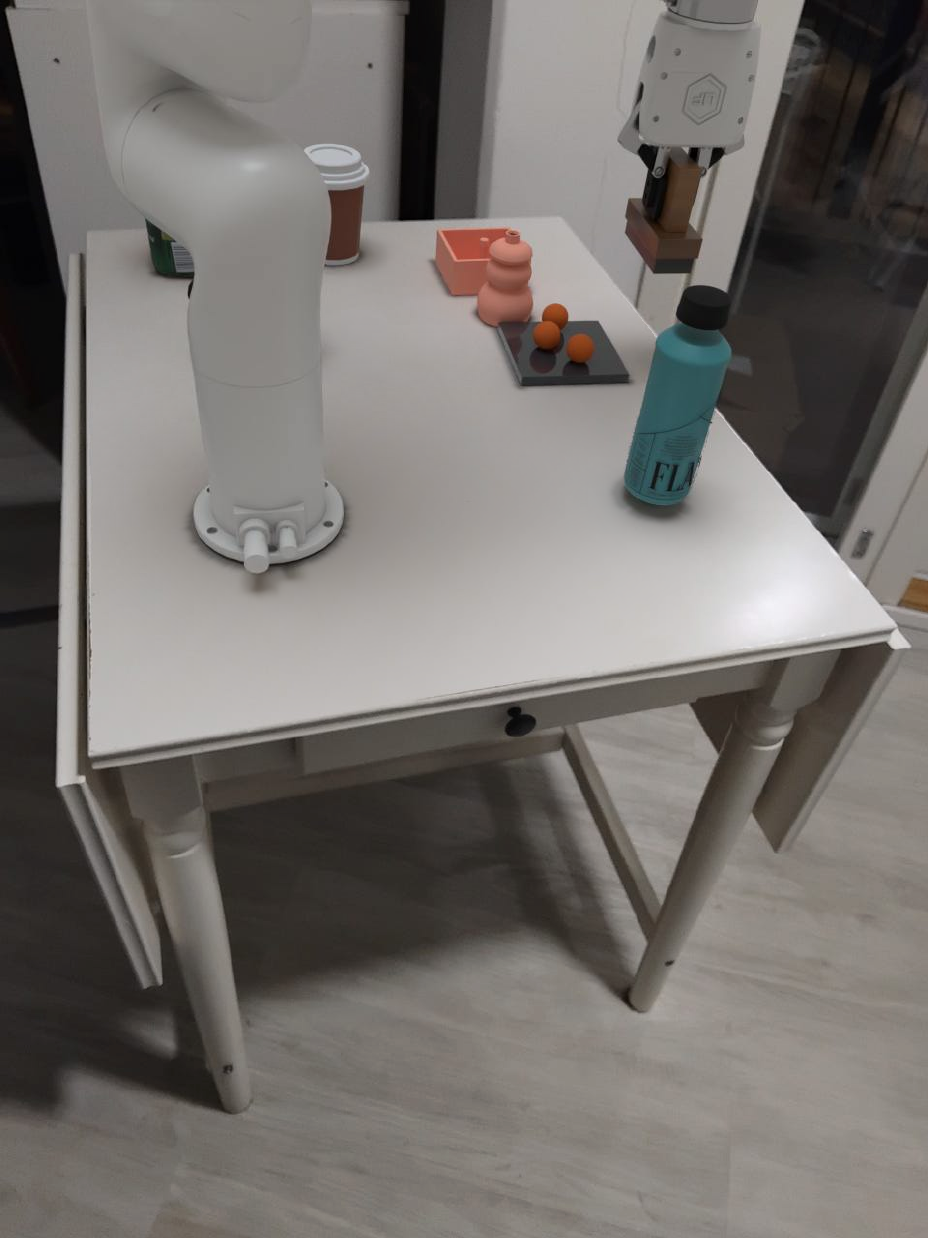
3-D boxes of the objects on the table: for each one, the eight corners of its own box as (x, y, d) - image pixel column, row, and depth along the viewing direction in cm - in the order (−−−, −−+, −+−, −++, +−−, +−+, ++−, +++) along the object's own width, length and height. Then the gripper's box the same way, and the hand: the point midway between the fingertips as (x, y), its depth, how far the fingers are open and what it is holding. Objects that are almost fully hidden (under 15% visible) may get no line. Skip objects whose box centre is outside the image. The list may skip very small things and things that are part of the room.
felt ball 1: (569, 335, 107) (573, 310, 105) (543, 336, 106) (547, 311, 104) (562, 322, 109) (566, 298, 107) (537, 323, 108) (540, 298, 106)
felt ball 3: (595, 367, 102) (600, 342, 100) (568, 368, 102) (572, 343, 100) (587, 353, 104) (592, 328, 102) (561, 354, 104) (565, 329, 102)
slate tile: (627, 382, 103) (629, 374, 102) (520, 385, 100) (522, 377, 100) (596, 328, 111) (598, 320, 110) (497, 329, 109) (498, 321, 108)
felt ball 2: (561, 354, 104) (565, 329, 102) (534, 354, 103) (538, 329, 101) (554, 340, 106) (558, 315, 104) (528, 341, 105) (532, 315, 103)
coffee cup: (307, 273, 115) (303, 170, 106) (288, 241, 121) (283, 141, 112) (378, 266, 118) (380, 165, 109) (356, 236, 123) (356, 138, 115)
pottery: (435, 262, 120) (439, 182, 113) (506, 259, 122) (515, 180, 115) (471, 331, 108) (478, 246, 101) (549, 327, 110) (562, 244, 103)
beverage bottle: (634, 523, 85) (689, 315, 71) (607, 479, 89) (653, 276, 75) (699, 515, 87) (765, 311, 73) (669, 473, 91) (726, 272, 77)
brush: (694, 274, 95) (719, 175, 88) (651, 274, 94) (674, 174, 87) (661, 231, 101) (682, 136, 95) (621, 232, 101) (640, 136, 94)
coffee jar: (151, 244, 117) (125, 78, 104) (217, 244, 119) (200, 79, 106) (150, 280, 110) (123, 107, 97) (220, 279, 112) (202, 108, 99)
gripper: (638, 7, 78) (599, 230, 91) (816, 15, 81) (753, 229, 94) (612, -15, 83) (578, 198, 96) (780, -7, 86) (725, 199, 99)
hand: (665, 212), depth 95 cm, fingers closed on brush, 2 cm apart
